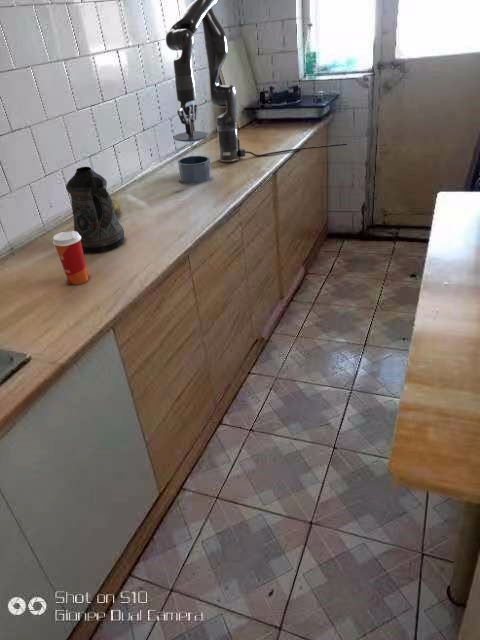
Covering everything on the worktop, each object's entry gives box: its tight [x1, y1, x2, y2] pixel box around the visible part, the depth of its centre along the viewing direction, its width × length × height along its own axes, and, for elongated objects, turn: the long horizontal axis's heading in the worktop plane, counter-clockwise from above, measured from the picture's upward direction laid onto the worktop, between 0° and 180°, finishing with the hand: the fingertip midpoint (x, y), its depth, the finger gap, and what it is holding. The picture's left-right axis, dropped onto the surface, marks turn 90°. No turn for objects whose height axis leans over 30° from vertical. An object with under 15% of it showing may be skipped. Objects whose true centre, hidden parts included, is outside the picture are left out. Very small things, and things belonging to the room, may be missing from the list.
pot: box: [177, 155, 212, 184], centre depth 208 cm, size 14×14×8 cm
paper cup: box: [52, 230, 89, 286], centre depth 135 cm, size 8×8×14 cm
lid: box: [173, 121, 209, 143], centre depth 199 cm, size 15×15×7 cm
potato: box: [112, 199, 121, 216], centre depth 178 cm, size 8×13×8 cm, turn 161°
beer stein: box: [65, 166, 125, 255], centre depth 152 cm, size 16×19×25 cm
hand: (190, 132), depth 199 cm, fingers closed on lid, 2 cm apart
